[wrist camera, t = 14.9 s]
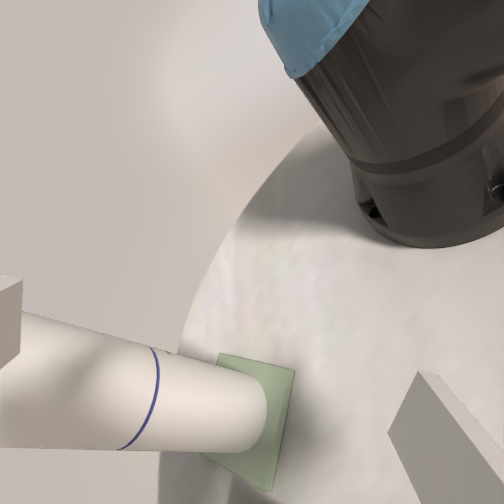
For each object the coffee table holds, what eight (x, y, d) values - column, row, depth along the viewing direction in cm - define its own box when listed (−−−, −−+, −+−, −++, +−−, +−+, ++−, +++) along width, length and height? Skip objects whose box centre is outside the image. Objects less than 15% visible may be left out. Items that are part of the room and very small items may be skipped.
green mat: (225, 354, 37) (219, 353, 37) (294, 371, 30) (289, 369, 30) (199, 449, 34) (192, 449, 33) (271, 491, 27) (264, 492, 26)
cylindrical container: (236, 472, 29) (-176, 488, 12) (203, 414, 34) (-114, 372, 18) (279, 406, 29) (-73, 338, 13) (239, 359, 34) (-42, 269, 18)
